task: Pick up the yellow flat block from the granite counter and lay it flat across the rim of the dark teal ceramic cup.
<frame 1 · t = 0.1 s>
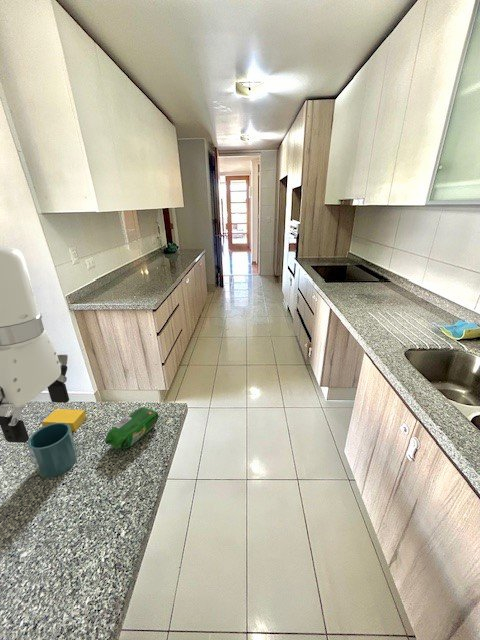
hand: (41, 419, 46), 24 cm above the countertop, tool pointing down, fingers open, 9 cm apart
cup: (58, 463, 64), on the countertop
snack package: (135, 435, 73), on the countertop
yellow flat block: (66, 423, 77), on the countertop
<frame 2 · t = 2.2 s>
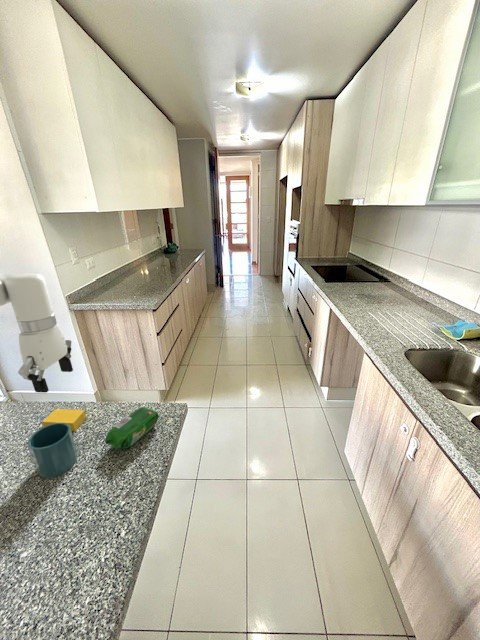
hand: (55, 380, 71), 15 cm above the countertop, tool pointing down, fingers open, 9 cm apart
nothing on the countertop moved.
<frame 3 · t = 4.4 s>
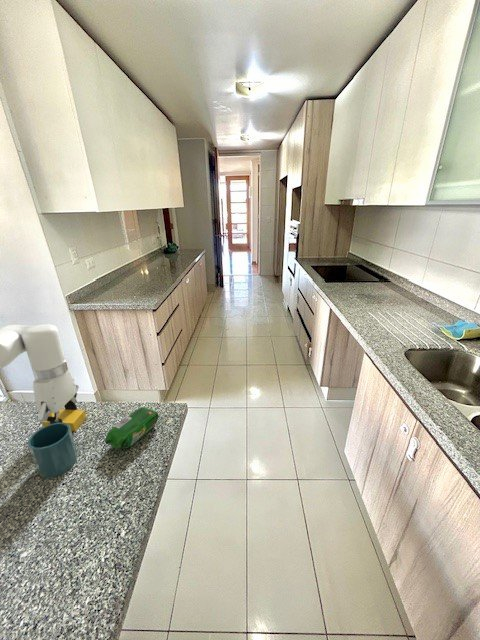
hand: (65, 422, 76), 1 cm above the countertop, tool pointing down, fingers closed on yellow flat block, 5 cm apart
yellow flat block: (66, 424, 77), on the countertop, touching gripper
everything else where it was.
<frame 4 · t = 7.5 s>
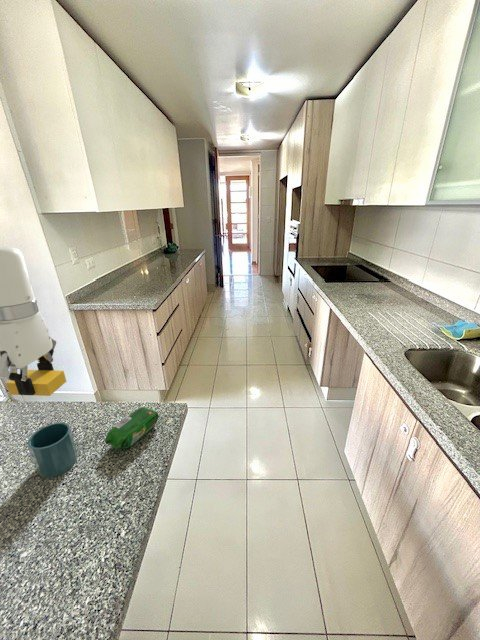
hand: (38, 385, 59), 21 cm above the countertop, tool pointing down, fingers closed on yellow flat block, 5 cm apart
yellow flat block: (39, 387, 59), point 21 cm above the countertop, touching gripper
everything else where it was.
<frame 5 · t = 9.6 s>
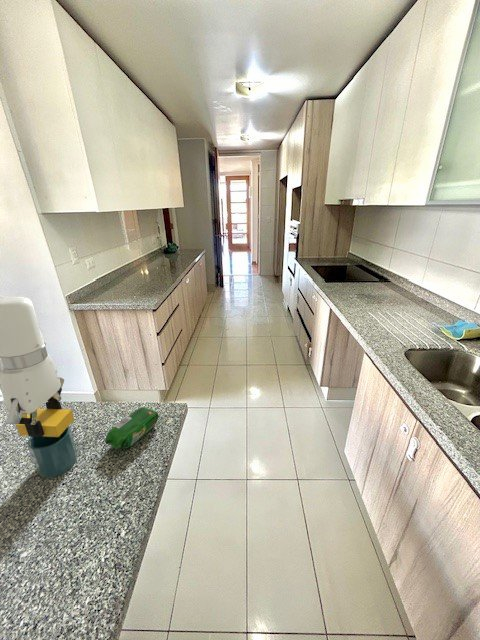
hand: (47, 424, 60), 12 cm above the countertop, tool pointing down, fingers closed on yellow flat block, 5 cm apart
yellow flat block: (48, 427, 60), point 11 cm above the countertop, touching gripper
everything else where it was.
when the fingers open (10 cm above the countertop, at t = 10.8 s): yellow flat block stays where it is, resting on cup.
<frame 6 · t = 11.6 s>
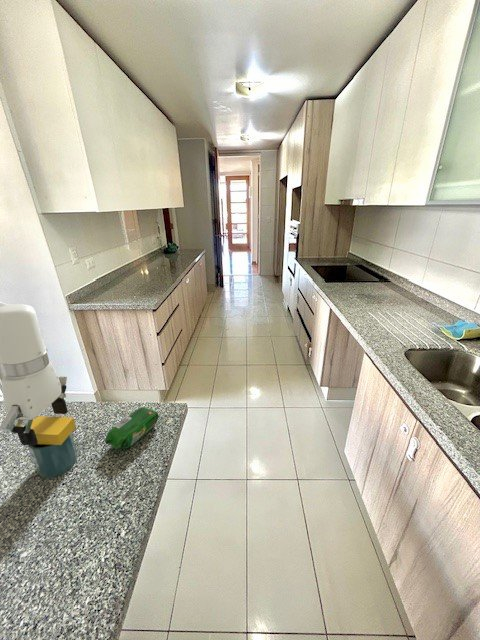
hand: (46, 427, 60), 11 cm above the countertop, tool pointing down, fingers open, 9 cm apart
cup: (58, 463, 64), on the countertop, touching yellow flat block
yellow flat block: (50, 435, 61), point 9 cm above the countertop, touching cup
everything else where it was.
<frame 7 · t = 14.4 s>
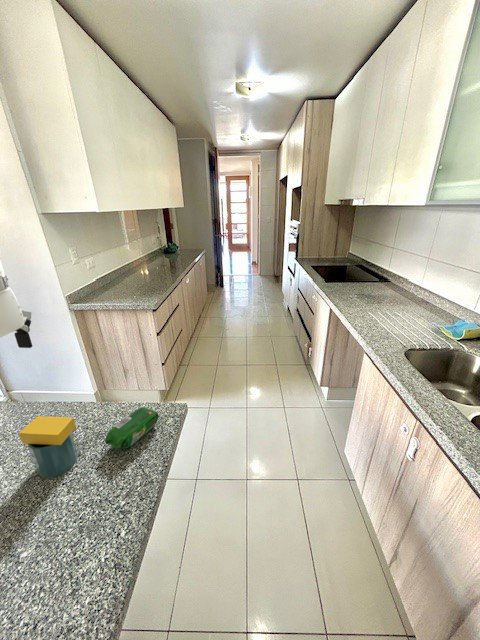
hand: (8, 356, 61), 26 cm above the countertop, tool pointing down, fingers open, 9 cm apart
nothing on the countertop moved.
at the end: yellow flat block 0.2 cm off-centre on the cup, point 9.0 cm above the cup's base; yellow flat block tilted 0°; cup tilted 0° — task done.
